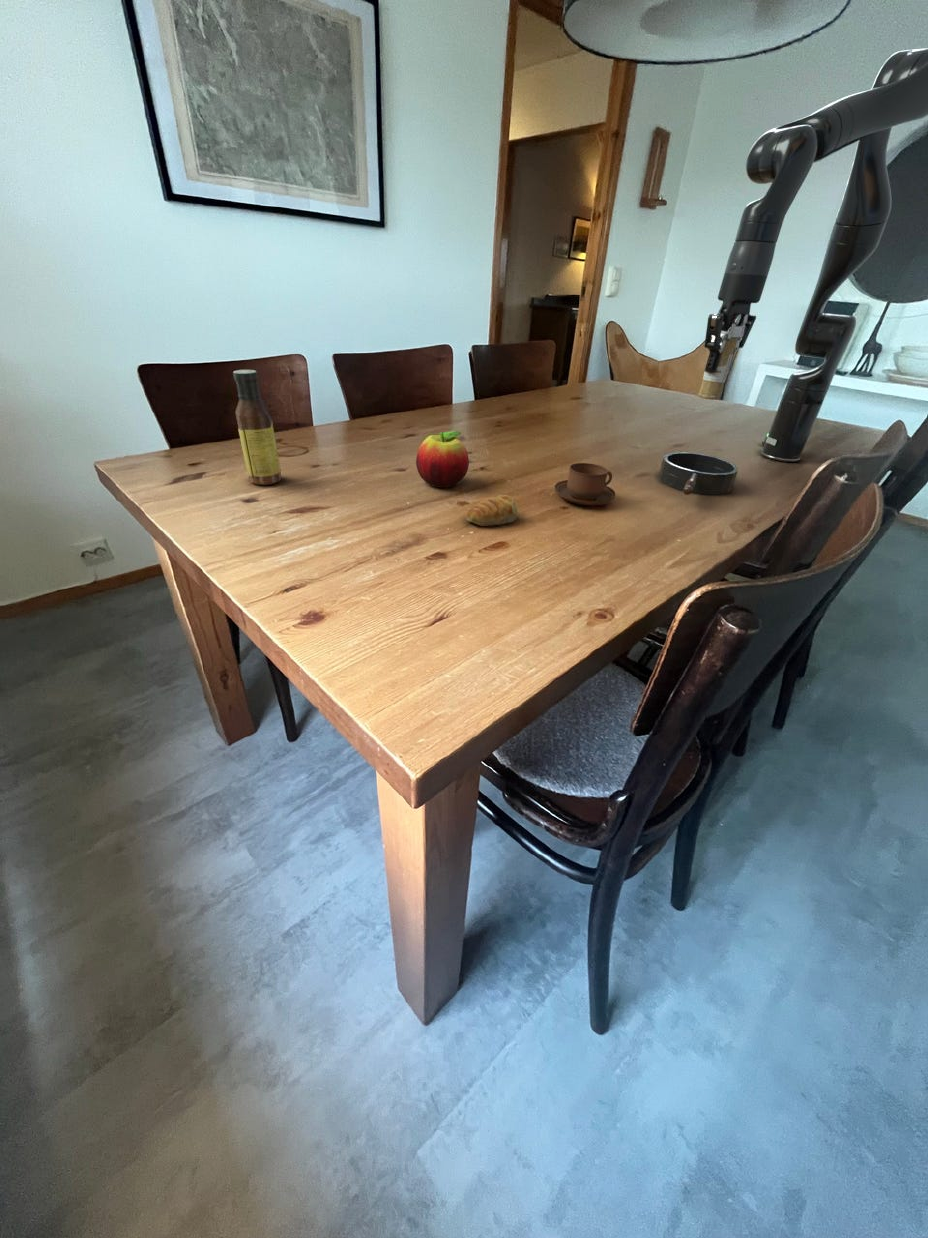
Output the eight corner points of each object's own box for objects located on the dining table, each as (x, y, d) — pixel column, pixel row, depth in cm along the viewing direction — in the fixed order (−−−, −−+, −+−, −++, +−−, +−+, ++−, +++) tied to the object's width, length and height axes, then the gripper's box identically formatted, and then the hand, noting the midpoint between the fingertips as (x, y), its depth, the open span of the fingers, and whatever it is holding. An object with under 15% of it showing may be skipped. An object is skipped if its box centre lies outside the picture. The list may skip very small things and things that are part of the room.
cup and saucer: (575, 484, 112) (581, 455, 109) (624, 501, 106) (632, 471, 102) (541, 496, 105) (545, 466, 102) (591, 515, 98) (597, 483, 95)
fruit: (404, 481, 108) (404, 431, 102) (441, 470, 115) (443, 423, 109) (441, 496, 102) (443, 444, 96) (478, 484, 109) (482, 435, 103)
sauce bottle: (288, 479, 105) (274, 371, 94) (266, 488, 100) (248, 375, 89) (263, 473, 107) (246, 366, 96) (240, 482, 102) (219, 370, 91)
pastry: (481, 532, 89) (483, 510, 87) (457, 518, 94) (458, 498, 91) (521, 520, 94) (523, 500, 92) (496, 508, 99) (497, 488, 97)
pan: (653, 468, 125) (658, 449, 123) (720, 474, 124) (726, 455, 122) (665, 490, 112) (671, 470, 110) (740, 498, 111) (747, 477, 109)
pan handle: (688, 479, 111) (691, 471, 110) (697, 481, 111) (700, 473, 110) (681, 494, 103) (683, 485, 102) (690, 496, 103) (693, 487, 102)
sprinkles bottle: (694, 397, 110) (714, 324, 102) (701, 394, 113) (722, 323, 105) (716, 401, 108) (738, 326, 100) (723, 398, 111) (746, 325, 103)
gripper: (745, 271, 92) (714, 377, 101) (784, 274, 99) (751, 373, 109) (707, 269, 96) (680, 370, 106) (746, 272, 104) (718, 367, 114)
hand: (716, 371), depth 107 cm, fingers closed on sprinkles bottle, 4 cm apart
